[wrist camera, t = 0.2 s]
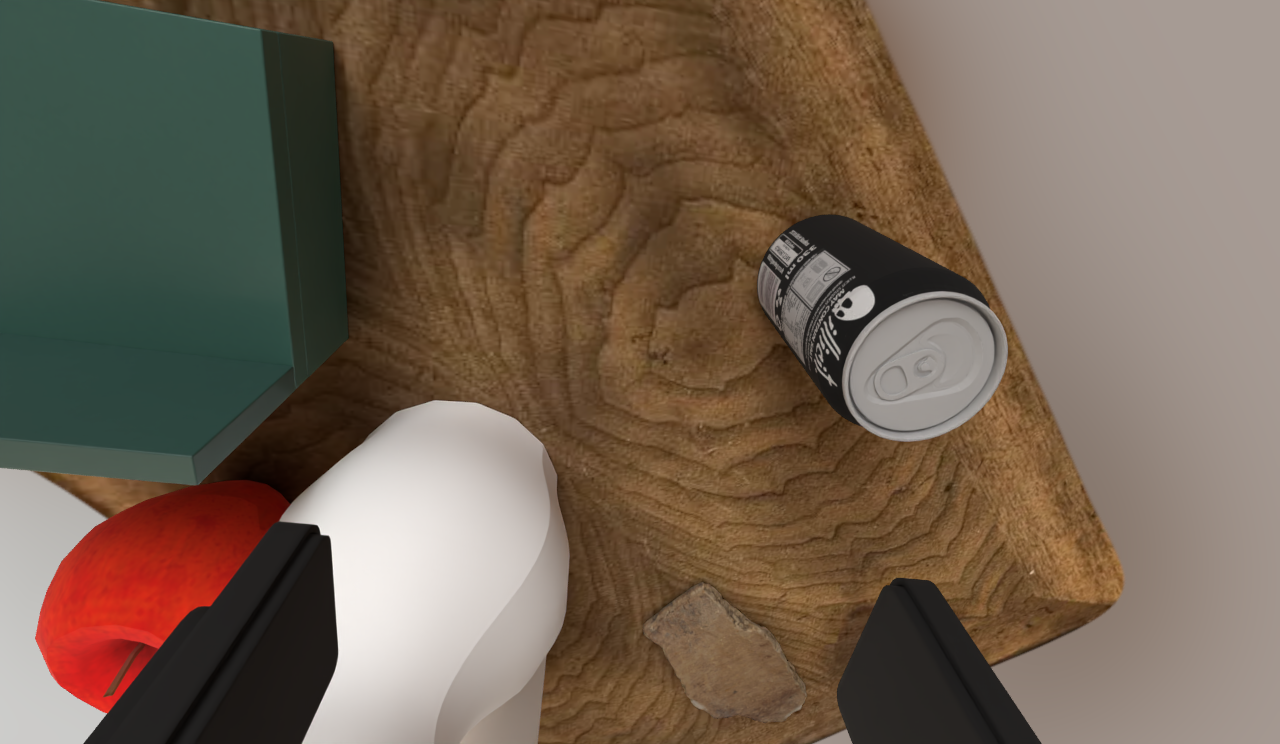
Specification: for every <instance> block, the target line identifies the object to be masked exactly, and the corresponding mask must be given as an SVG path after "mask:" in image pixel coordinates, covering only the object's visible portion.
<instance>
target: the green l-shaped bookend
mask: <svg viewBox="0 0 1280 744" xmlns="http://www.w3.org/2000/svg"><path fill="white" fill-rule="evenodd" d="M348 338H349V337H348V318H347V299H346V281H345V262H344V243H343V224H342V205H341V186H340V167H339V149H338V130H337V111H336V92H335V73H334V54H333V42H332V41H327V40H321V39H316V38H310V37H304V36H299V35H293V34H287V33H281V32H275V31H270V30H264V29H258V28H252V27H247V26H241V25H235V24H230V23H224V22H218V21H213V20H207V19H201V18H196V17H190V16H184V15H179V14H173V13H167V12H162V11H156V10H151V9H145V8H139V7H134V6H128V5H122V4H117V3H111V2H105V1H100V0H0V468H8V469H19V470H30V471H41V472H52V473H63V474H75V475H86V476H97V477H108V478H119V479H130V480H141V481H152V482H163V483H174V484H185V485H199V484H200V483H201V482H202V481H203V480H204V479H205V478H206V477H207V476H208V475H209V474H210V473H211V472H212V471H213V470H214V469H215V468H216V467H217V466H218V465H219V464H220V463H221V462H222V461H223V460H224V459H225V458H226V457H227V456H228V455H229V454H230V453H231V452H232V451H233V450H234V449H236V448H237V447H238V446H239V445H240V444H241V443H242V442H243V441H244V440H245V439H246V438H247V437H248V436H249V435H250V434H251V433H252V432H253V431H254V430H255V429H256V428H257V427H258V426H259V425H260V424H261V423H262V422H263V421H264V420H265V419H266V418H267V417H268V416H269V415H270V414H271V413H272V412H273V411H274V410H275V409H276V408H277V407H278V406H280V405H281V404H282V403H283V402H284V401H285V400H286V399H287V398H288V397H289V396H290V395H291V394H292V393H293V392H294V391H295V389H297V388H298V387H299V386H300V385H301V384H302V383H303V382H304V381H305V380H306V379H307V377H309V376H310V375H311V374H312V373H313V372H314V371H315V370H316V369H317V368H319V367H320V366H321V365H322V364H323V363H324V362H325V361H326V360H327V359H328V358H329V357H330V356H331V355H332V354H333V353H334V352H335V351H336V350H337V349H338V348H339V347H340V346H341V345H342V344H343V343H344V342H345V341H346V340H347V339H348Z"/></svg>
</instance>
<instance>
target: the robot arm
mask: <svg viewBox="0 0 1280 744" xmlns="http://www.w3.org/2000/svg"><path fill="white" fill-rule="evenodd" d="M337 661H338V637H337V623H336V608H335V593H334V578H333V564H332V549H331V539H330V537H329V536H328V535H321V533H320V528H319V527H318V525H314V524H303V523H292V522H281V521H278V522H276V523H274V524H273V525H272V526H271V527H270V528H269V530H268V531H267V532H266V534H265V535H264V536H263V538H262V539H261V540H260V542H259V543H258V544H257V546H256V547H255V548H254V550H253V551H252V552H251V553H250V555H249V556H248V557H247V559H246V560H245V561H244V563H243V564H242V565H241V567H240V568H239V569H238V571H237V572H236V573H235V575H234V576H233V577H232V579H231V580H230V581H229V582H228V584H227V585H226V586H225V588H224V589H223V590H222V592H221V593H220V594H219V596H218V597H217V598H216V600H215V601H214V602H213V604H212V605H211V606H200V607H197V608H195V609H194V610H192V611H190V612H189V613H188V614H187V615H186V616H185V617H184V618H183V619H182V620H181V622H180V623H179V624H178V625H177V627H176V628H175V629H174V630H173V632H172V633H171V634H170V635H169V637H168V638H167V639H166V640H165V642H164V643H163V644H162V645H161V647H160V648H159V649H158V650H157V652H156V653H155V654H154V655H153V657H152V658H151V659H150V661H149V662H148V663H147V664H146V666H145V667H144V668H143V669H142V671H141V672H140V673H139V674H138V676H137V677H136V678H135V679H134V681H133V682H132V683H131V684H130V686H129V687H128V688H127V689H126V691H125V692H124V693H123V695H122V696H121V697H120V698H119V700H118V701H117V702H116V703H115V705H114V706H113V707H112V708H111V710H110V711H109V712H108V713H107V715H106V716H105V717H104V719H103V720H102V721H101V722H100V724H99V725H98V726H97V727H96V729H95V730H94V731H93V733H92V734H91V735H90V736H89V737H88V739H87V740H86V741H85V742H84V744H302V742H303V740H304V738H305V736H306V734H307V731H308V729H309V727H310V725H311V723H312V721H313V718H314V716H315V714H316V712H317V710H318V708H319V705H320V703H321V701H322V699H323V697H324V695H325V692H326V690H327V688H328V686H329V684H330V682H331V679H332V677H333V675H334V672H335V669H336V665H337ZM837 701H838V706H839V709H840V712H841V714H842V717H843V720H844V722H845V725H846V728H847V730H848V733H849V736H850V738H851V741H852V743H853V744H1041V742H1040V741H1039V739H1038V738H1037V736H1036V735H1035V733H1034V732H1033V730H1032V729H1031V727H1030V726H1029V724H1028V723H1027V721H1026V720H1025V718H1024V717H1023V715H1022V714H1021V712H1020V711H1019V709H1018V708H1017V706H1016V705H1015V703H1014V702H1013V700H1012V699H1011V697H1010V696H1009V694H1008V693H1007V691H1006V690H1005V688H1004V687H1003V685H1002V684H1001V682H1000V681H999V679H998V678H997V676H996V675H995V673H994V672H993V670H992V669H991V667H990V666H989V664H988V663H987V661H986V660H985V658H984V657H983V655H982V654H981V652H980V651H979V649H978V648H977V646H976V645H975V643H974V642H973V640H972V639H971V637H970V636H969V634H968V633H967V631H966V630H965V628H964V627H963V625H962V624H961V622H960V621H959V619H958V618H957V616H956V615H955V613H954V612H953V610H952V609H951V607H950V606H949V604H948V603H947V601H946V600H945V598H944V597H943V595H942V594H941V592H940V591H939V589H938V588H937V587H936V586H935V584H934V583H932V582H931V581H929V580H918V579H907V578H896V579H894V580H893V581H892V582H891V584H890V585H886V586H885V587H884V588H883V589H882V591H881V593H880V595H879V597H878V599H877V602H876V604H875V606H874V608H873V610H872V612H871V615H870V617H869V619H868V621H867V623H866V626H865V628H864V630H863V632H862V634H861V636H860V639H859V641H858V643H857V645H856V647H855V650H854V652H853V654H852V656H851V658H850V660H849V663H848V665H847V667H846V669H845V671H844V674H843V676H842V678H841V680H840V682H839V685H838V688H837Z"/></svg>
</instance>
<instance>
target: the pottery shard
mask: <svg viewBox="0 0 1280 744" xmlns="http://www.w3.org/2000/svg"><path fill="white" fill-rule="evenodd" d="M643 634H644V635H645V636H646V637H647V638H648V639H650V640H651V641H653V642H655V643H656V644H658V645H660V646H661V647H662V649H663V651H664V653H665V656H666V658H667V660H668V661H669V663H670V665H671V666H672V667H673V668H674V670H675V675H676V676H677V677H678V678H679V679H680V681H681V683H682V687H683V688H684V691H685V694H686V696H688V697H689V698H690V699H691V702H692V704H693V705H694V706H695V707H696V708H697V709H699V710H700V709H703V710H704V711H706V712H708V713H709V714H711V716H712V717H713V718H716V719H718V718H727V717H732V716H735V715H741V716H746V717H748V718H752V719H753V720H756V721H760V722H763V723H767V722H783V721H785V720H786V719H787V717H788V716H790V715H791V713H793V712H795V711H798V710H800V709H801V708H802V704H804V702H805V698H806V697H807V694H806V688H805V684H804V683H803V681H802V680H801V679H800V677H799V676H798V674H797V673H796V672H795V668H794V666H793V665H792V664H791V663H790V662H788V661H787V659H786V657H785V655H784V654H783V652H782V649H781V646H780V644H779V643H778V642H777V641H776V639H775V637H774V635H773V634H772V633H771V632H770V631H769V630H768V629H767V628H765V627H760V626H759V625H758V624H755V623H753V622H752V621H751V620H749V619H748V618H747V617H745V616H744V614H742V613H741V612H740V611H739V610H737V609H736V608H735V607H733V606H731V605H730V604H729V603H728V602H727V601H726V600H723V599H722V595H721V594H720V593H719V592H718V591H717V589H715V588H714V587H712V586H711V585H710V584H705V583H704V582H701V583H699V584H697V585H695V586H693V587H691V588H690V589H688V590H687V591H685V592H684V593H683V594H681V595H680V596H679V597H677V598H676V599H674V600H673V601H672V602H670V603H669V604H668V605H666V606H665V607H664V608H662V609H661V610H660V611H659V612H658V613H657V614H655V615H654V616H653V617H651V618H650V619H649V620H648V621H646V622H645V623H644V624H643Z"/></svg>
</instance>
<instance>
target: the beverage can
mask: <svg viewBox="0 0 1280 744" xmlns="http://www.w3.org/2000/svg"><path fill="white" fill-rule="evenodd" d="M757 291H758V297H759V301H760V304H761V307H762V309H763V311H764V313H765V315H766V316H767V317H768V319H769V320H770V322H771V323H772V324H773V326H774V327H775V329H776V330H777V331H778V333H779V334H780V336H781V337H782V338H783V340H784V341H785V343H786V344H787V345H788V347H789V348H790V350H791V351H792V352H793V354H794V355H795V357H796V358H797V359H798V361H799V362H800V364H801V365H802V366H803V368H804V369H805V371H806V372H807V373H808V375H809V376H810V378H811V379H812V380H813V382H814V383H815V385H816V386H817V387H818V389H819V390H820V391H821V393H822V394H823V396H824V397H825V398H826V400H827V401H828V403H829V404H830V405H831V407H832V408H833V409H834V410H835V411H836V412H837V413H838V414H840V415H841V416H842V417H844V418H845V419H847V420H849V421H850V422H852V423H854V424H857V425H859V426H862V427H864V428H865V429H867V430H868V431H870V432H871V433H873V434H875V435H877V436H880V437H882V438H886V439H889V440H894V441H905V442H908V441H920V440H925V439H930V438H933V437H937V436H940V435H942V434H945V433H947V432H949V431H951V430H953V429H955V428H957V427H959V426H960V425H962V424H963V423H965V422H966V421H968V420H969V419H970V418H971V417H973V416H974V415H975V414H976V413H977V412H978V411H979V410H980V409H981V408H982V407H983V406H984V405H985V404H986V403H987V402H988V401H989V399H990V398H991V397H992V395H993V394H994V392H995V390H996V389H997V387H998V385H999V383H1000V381H1001V379H1002V376H1003V374H1004V371H1005V367H1006V362H1007V355H1008V346H1007V338H1006V334H1005V331H1004V329H1003V326H1002V324H1001V322H1000V321H999V319H998V318H997V316H996V315H995V314H994V313H993V312H992V311H991V310H990V307H989V305H988V303H987V301H986V299H985V298H984V296H983V295H982V293H981V292H980V291H979V290H978V289H977V287H976V286H975V285H974V284H972V283H971V282H970V281H968V280H967V279H965V278H964V277H962V276H960V275H958V274H956V273H955V272H953V271H951V270H949V269H947V268H945V267H943V266H941V265H939V264H937V263H935V262H934V261H932V260H930V259H928V258H926V257H924V256H922V255H920V254H918V253H916V252H915V251H913V250H911V249H909V248H907V247H905V246H903V245H901V244H899V243H897V242H895V241H894V240H892V239H890V238H888V237H886V236H884V235H882V234H880V233H878V232H876V231H875V230H873V229H871V228H869V227H867V226H865V225H863V224H861V223H859V222H857V221H855V220H853V219H851V218H848V217H845V216H840V215H819V216H814V217H811V218H808V219H805V220H802V221H800V222H798V223H796V224H794V225H792V226H791V227H790V228H788V229H787V230H785V231H784V232H783V233H782V234H781V235H780V236H779V237H778V238H777V239H776V240H775V241H774V242H773V243H772V245H771V246H770V247H769V249H768V251H767V252H766V254H765V256H764V258H763V260H762V263H761V266H760V269H759V273H758V280H757Z"/></svg>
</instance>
